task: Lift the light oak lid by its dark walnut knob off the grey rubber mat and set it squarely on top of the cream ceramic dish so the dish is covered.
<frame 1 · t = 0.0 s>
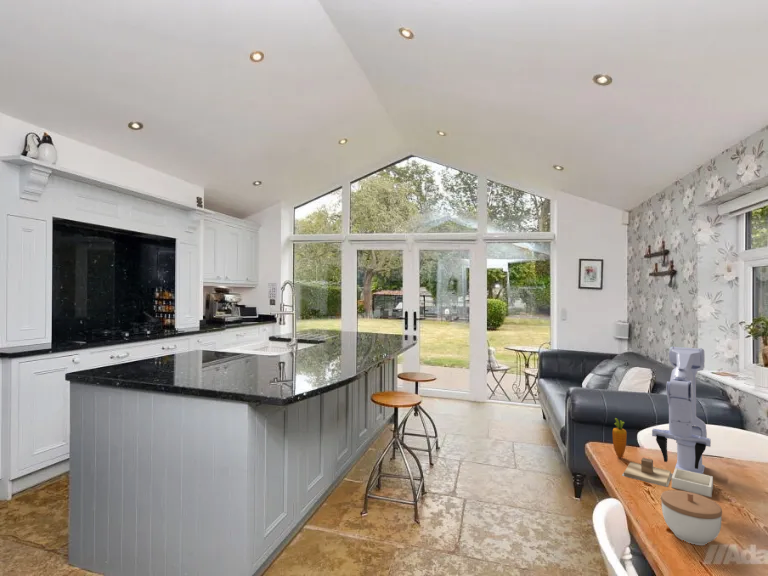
hand: (680, 464, 126), 10 cm above the table, tool pointing down, fingers open, 7 cm apart
cream dish: (692, 488, 132), on the table
carrot: (619, 459, 156), on the table
rubber mat: (647, 476, 141), on the table
lidded bowl: (690, 537, 105), on the table
oak lid: (647, 474, 141), resting on rubber mat
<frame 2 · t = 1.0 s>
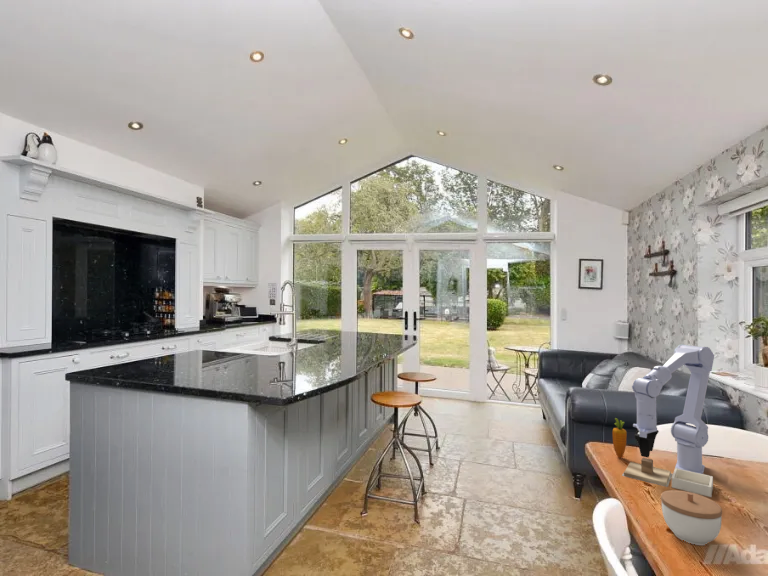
hand: (646, 453, 141), 8 cm above the table, tool pointing down, fingers open, 7 cm apart
nothing on the table moved.
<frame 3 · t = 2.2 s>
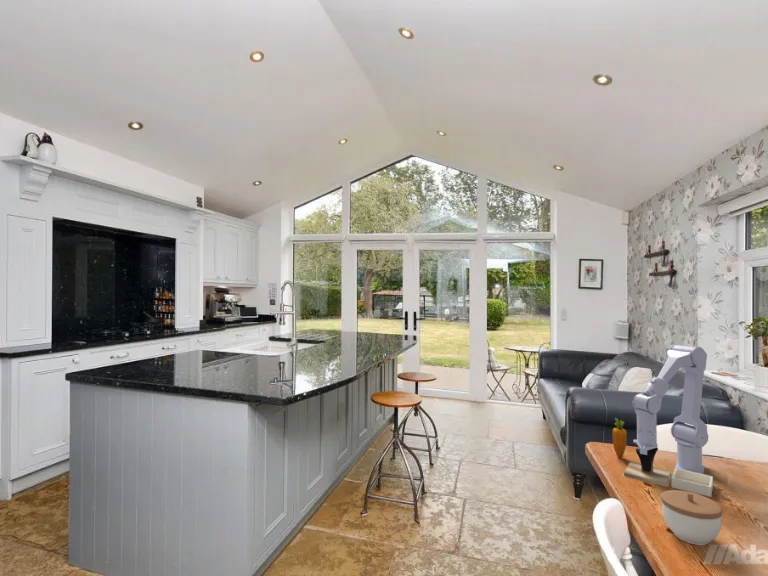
hand: (647, 469, 141), 2 cm above the table, tool pointing down, fingers closed on oak lid, 3 cm apart
oak lid: (647, 474, 141), resting on rubber mat, touching gripper
everything else where it was.
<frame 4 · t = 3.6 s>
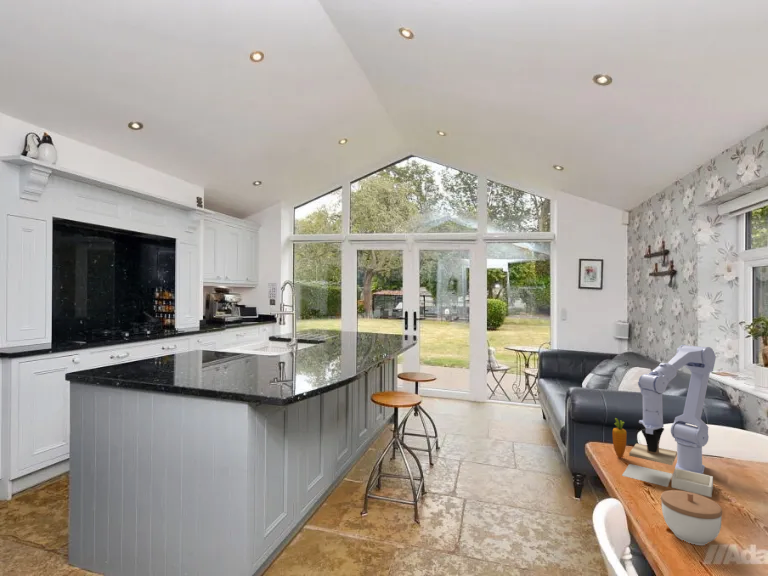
hand: (653, 450, 140), 9 cm above the table, tool pointing down, fingers closed on oak lid, 3 cm apart
oak lid: (653, 455, 140), point 8 cm above the table, touching gripper
everything else where it was.
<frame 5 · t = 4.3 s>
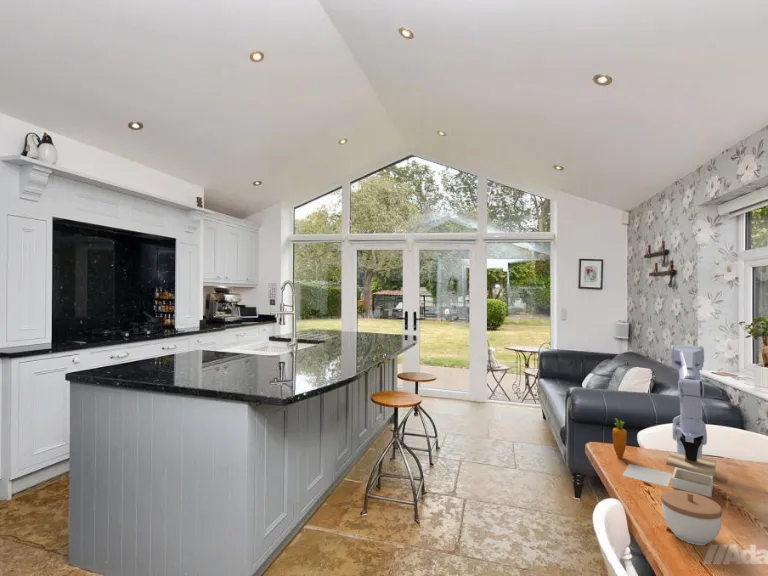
hand: (691, 459, 133), 9 cm above the table, tool pointing down, fingers closed on oak lid, 3 cm apart
oak lid: (691, 464, 133), point 7 cm above the table, touching gripper
everything else where it was.
when the fingers open (7 cm above the table, at t = 5.0 s): oak lid drops 1 cm, resting on cream dish.
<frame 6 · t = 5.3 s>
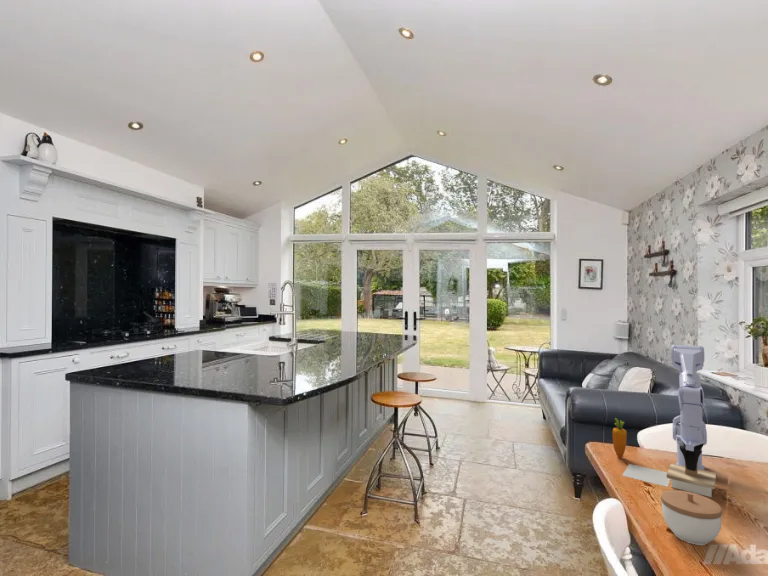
hand: (692, 467, 132), 7 cm above the table, tool pointing down, fingers open, 5 cm apart
oak lid: (691, 476, 133), point 3 cm above the table, touching cream dish
everything else where it was.
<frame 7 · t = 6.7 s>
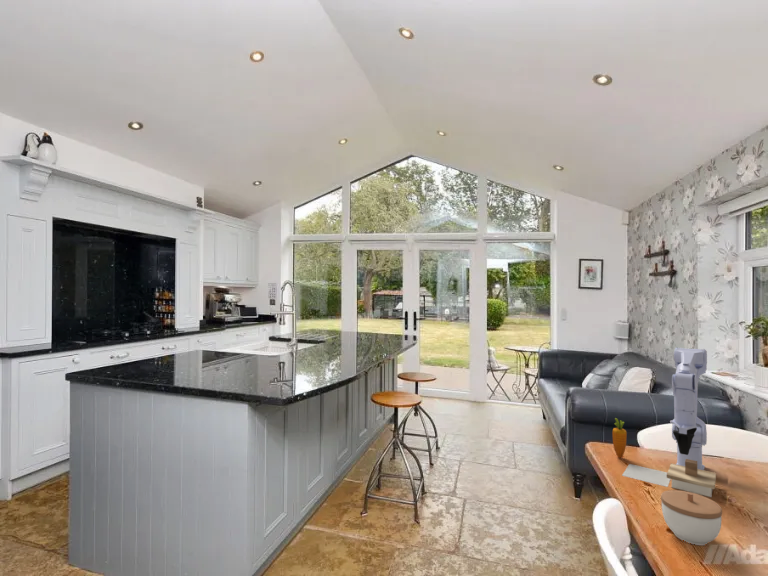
hand: (685, 451, 136), 10 cm above the table, tool pointing down, fingers open, 7 cm apart
nothing on the table moved.
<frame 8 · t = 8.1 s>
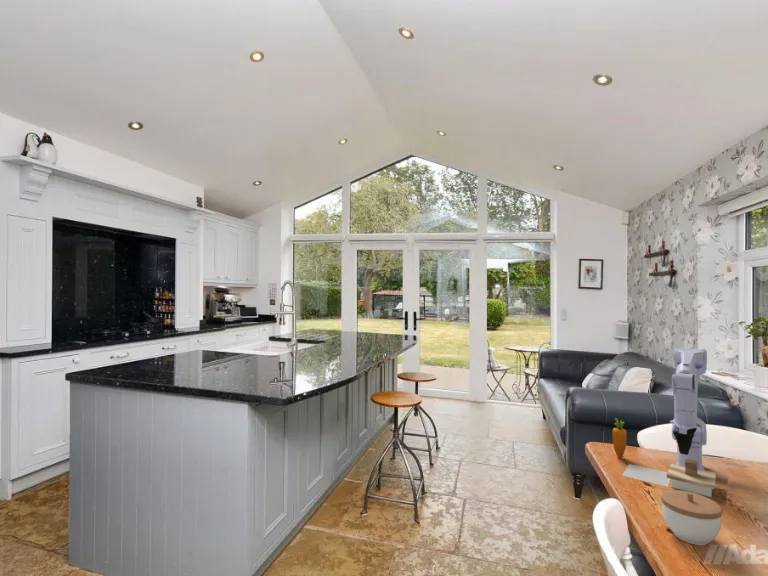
hand: (685, 451, 136), 10 cm above the table, tool pointing down, fingers open, 7 cm apart
nothing on the table moved.
at the end: oak lid 0.2 cm off-centre on the cream dish, point 3.5 cm above the cream dish's base; oak lid tilted 0°; the gripper is holding nothing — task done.
